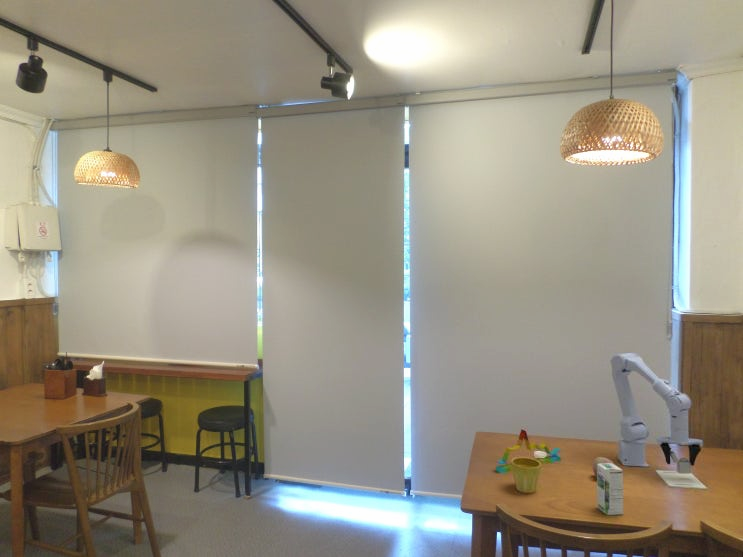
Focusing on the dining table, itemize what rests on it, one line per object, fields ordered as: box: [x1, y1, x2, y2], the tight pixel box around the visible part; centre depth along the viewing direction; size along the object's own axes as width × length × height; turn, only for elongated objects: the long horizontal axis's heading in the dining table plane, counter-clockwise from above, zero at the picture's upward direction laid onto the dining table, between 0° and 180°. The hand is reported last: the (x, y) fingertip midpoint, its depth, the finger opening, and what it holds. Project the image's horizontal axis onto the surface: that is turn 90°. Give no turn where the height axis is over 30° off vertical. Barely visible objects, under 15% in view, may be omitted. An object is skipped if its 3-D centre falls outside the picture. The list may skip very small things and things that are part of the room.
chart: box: [495, 428, 562, 474], centre depth 197 cm, size 30×3×15 cm, turn 113°
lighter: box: [670, 450, 692, 474], centre depth 181 cm, size 7×2×8 cm, turn 88°
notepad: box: [655, 469, 708, 490], centre depth 181 cm, size 12×14×1 cm
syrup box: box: [596, 463, 624, 516], centre depth 158 cm, size 6×6×14 cm
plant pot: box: [510, 456, 542, 494], centre depth 176 cm, size 10×10×10 cm
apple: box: [592, 456, 615, 477], centre depth 183 cm, size 8×8×8 cm
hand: (679, 464), depth 181 cm, fingers closed on lighter, 7 cm apart
